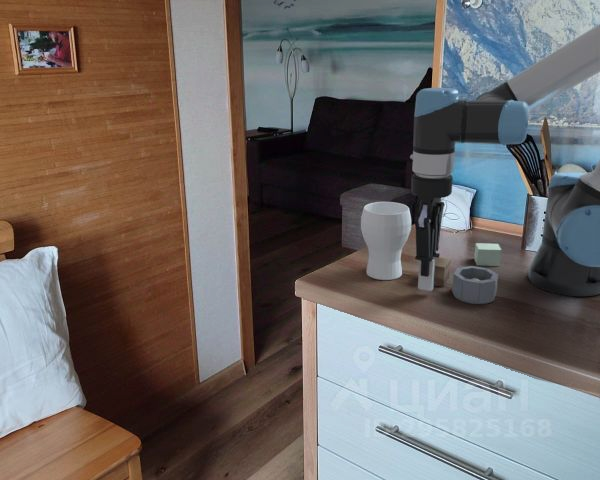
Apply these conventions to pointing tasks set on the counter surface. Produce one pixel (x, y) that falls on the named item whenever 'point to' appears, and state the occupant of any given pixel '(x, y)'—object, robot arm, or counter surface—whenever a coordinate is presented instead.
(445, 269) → the walnut box
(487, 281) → the ramekin
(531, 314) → the counter surface
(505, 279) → the counter surface
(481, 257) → the sage block
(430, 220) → the robot arm
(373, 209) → the cup
